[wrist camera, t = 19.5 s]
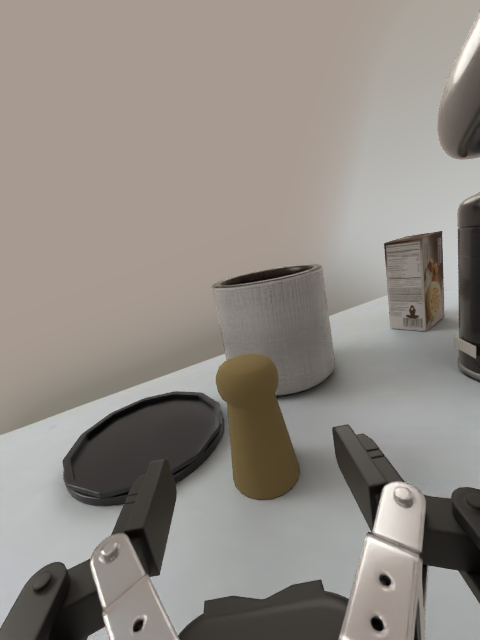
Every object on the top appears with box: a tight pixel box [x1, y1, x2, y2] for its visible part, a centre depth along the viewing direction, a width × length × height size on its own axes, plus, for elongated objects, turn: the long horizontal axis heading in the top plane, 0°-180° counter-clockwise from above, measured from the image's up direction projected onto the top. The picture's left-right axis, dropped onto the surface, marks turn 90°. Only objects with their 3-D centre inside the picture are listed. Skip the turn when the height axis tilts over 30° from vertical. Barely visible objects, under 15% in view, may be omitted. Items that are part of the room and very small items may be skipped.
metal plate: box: [63, 391, 224, 506], centre depth 34 cm, size 18×18×1 cm
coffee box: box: [384, 231, 444, 331], centre depth 53 cm, size 9×6×16 cm
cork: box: [216, 353, 300, 500], centre depth 25 cm, size 6×6×11 cm
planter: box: [212, 264, 335, 396], centre depth 43 cm, size 16×16×16 cm
